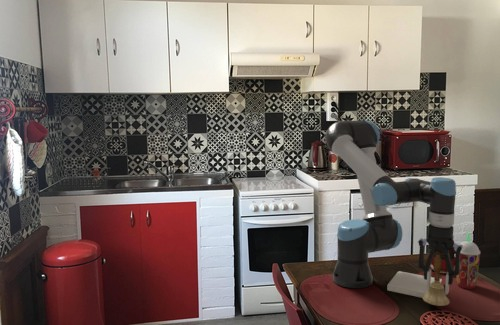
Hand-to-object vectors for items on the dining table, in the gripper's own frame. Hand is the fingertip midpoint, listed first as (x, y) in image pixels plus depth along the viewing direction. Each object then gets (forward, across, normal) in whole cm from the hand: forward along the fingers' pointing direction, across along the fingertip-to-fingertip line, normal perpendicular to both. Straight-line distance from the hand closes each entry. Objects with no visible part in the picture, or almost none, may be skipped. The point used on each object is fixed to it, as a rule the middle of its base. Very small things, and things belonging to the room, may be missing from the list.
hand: (437, 290), depth 143 cm
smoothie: (+5, +7, +22) cm, 23 cm away
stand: (+5, -9, +11) cm, 15 cm away
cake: (+6, -3, +34) cm, 34 cm away
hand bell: (+3, 0, -3) cm, 4 cm away
